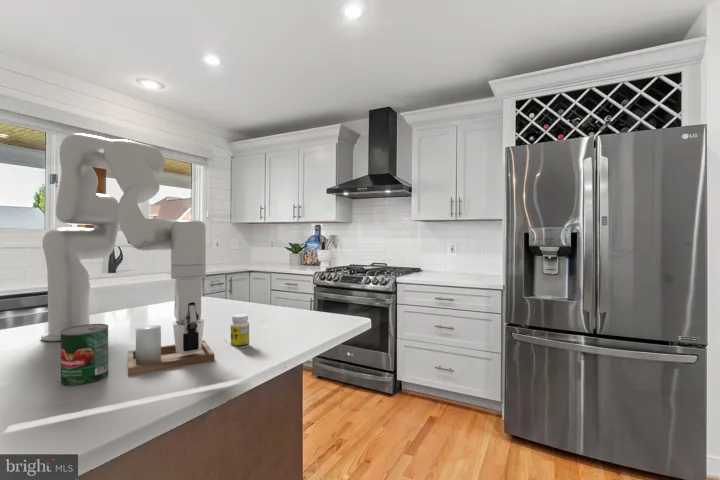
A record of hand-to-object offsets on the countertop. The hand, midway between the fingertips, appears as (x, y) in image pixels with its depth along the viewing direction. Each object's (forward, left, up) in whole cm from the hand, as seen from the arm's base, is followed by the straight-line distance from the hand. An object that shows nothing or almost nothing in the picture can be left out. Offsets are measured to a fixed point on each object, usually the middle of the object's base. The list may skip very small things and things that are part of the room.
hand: (188, 345), depth 89 cm
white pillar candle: (0, -8, -3) cm, 9 cm away
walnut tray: (0, -4, -3) cm, 5 cm away
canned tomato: (+4, -20, -4) cm, 20 cm away
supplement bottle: (-4, +13, -4) cm, 14 cm away
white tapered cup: (0, 0, -1) cm, 1 cm away
